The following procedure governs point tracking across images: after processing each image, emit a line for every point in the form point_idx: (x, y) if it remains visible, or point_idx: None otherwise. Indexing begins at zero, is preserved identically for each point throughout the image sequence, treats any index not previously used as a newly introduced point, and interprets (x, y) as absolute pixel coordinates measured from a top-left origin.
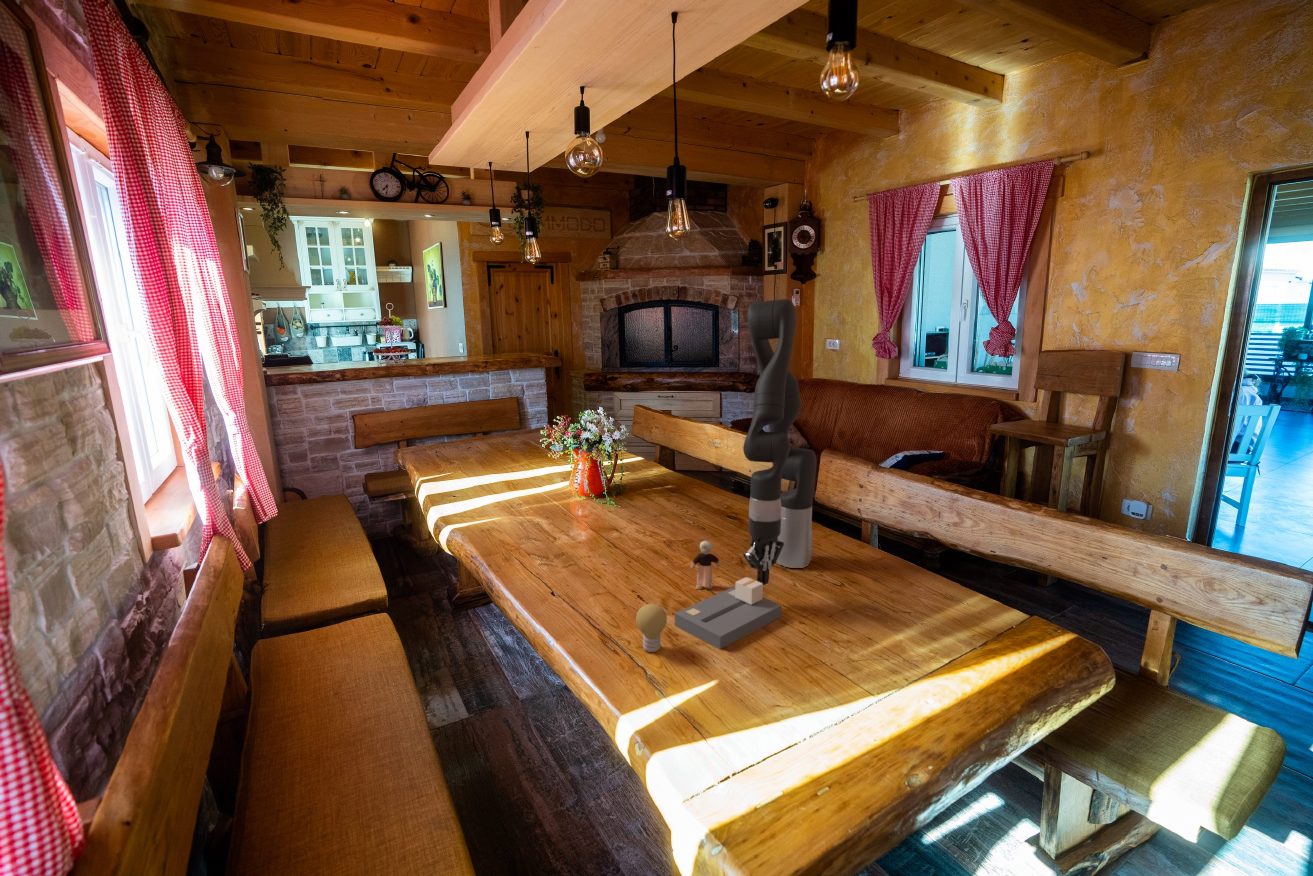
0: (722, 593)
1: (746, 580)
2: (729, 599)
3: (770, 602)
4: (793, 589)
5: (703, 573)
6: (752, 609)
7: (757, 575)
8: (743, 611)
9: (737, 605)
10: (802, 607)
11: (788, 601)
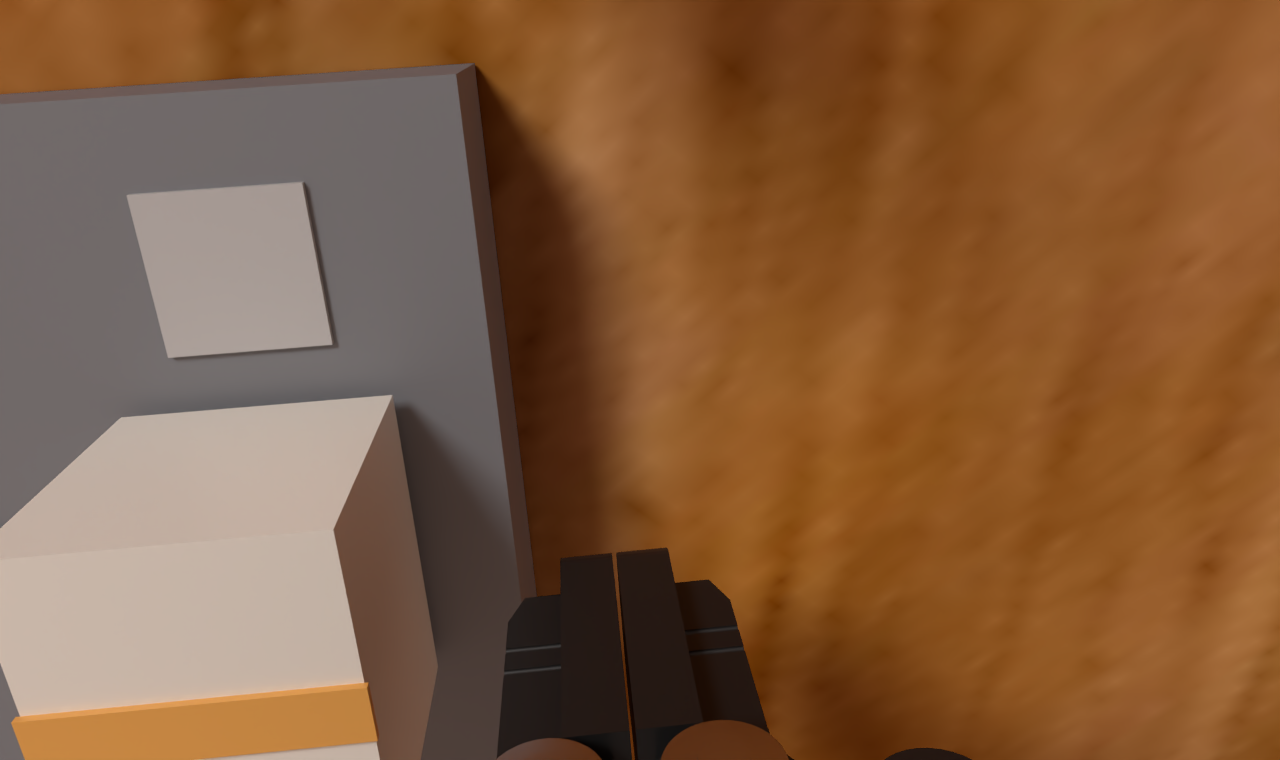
0: (42, 147)
1: (217, 641)
2: (29, 376)
3: (489, 739)
4: (1214, 389)
5: None
6: None
7: (503, 689)
8: (7, 723)
9: None
10: (889, 713)
11: (899, 554)
